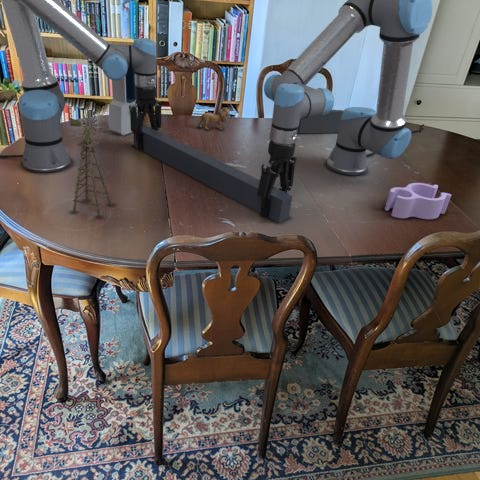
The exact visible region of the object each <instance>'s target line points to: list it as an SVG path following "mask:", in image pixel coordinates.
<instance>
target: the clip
mask: <svg viewBox="0 0 480 480" xmlns="http://www.w3.org/2000/svg"><path fill="white" fill-rule="evenodd" d="M438 188H439V185H438V184H433V185H432V184H429V183H424V182H411V183H408V184H407V186H405V187H400V186H399V187H398V186H397V187H396V186H395V187H392V188H390V190H389V192H388V196H387V199H386V203H385V207H384V211H386V212H388V211H390V209H392V211H391V213H390V216H391V217H393V218H397V219H408V218H418V219H420V220H421V219H422V220H434V219H435V220H436V219H438V218H439V216H440V214H441V215H445V213H446V210H447V208H448V206H449V203H450V200H451V198H452V194H451V193H448V192H440V194H439V197H436V194H437V192H438Z"/></svg>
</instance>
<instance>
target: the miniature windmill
mask: <svg viewBox="0 0 480 480" xmlns="http://www.w3.org/2000/svg"><path fill="white" fill-rule="evenodd" d="M89 110H91V112H90V113H87V112H89ZM95 113H96V111H95V110H94V108H92V109H91V107H89V108H87V110H86V109H85V110H84V113H82V117H83V118H81V119H80V120H81V121H80V120H78V119H74V118H71V117H69V125H70V127H73V128H75V127H76V128H80V127H82V128H80V129H79V130H80V132H81V134H80V135H81V137H82V140H81V141H80V142H78V143H77V144H76V146H78V147H81V151H80V153H79V154H80V159H79V166H78V168H77V171H78V174H77V176H76V178H77V180H76V183H75V186H76V187H75V191H74V199H73V200H72V201H73V207H72V213H76V210H77V203H80V204H86V205H91V206H95V207H96V214H97V217H98V218H100V217H101V212H100V205H101V204H102V203H103V202H104V201H105V200H106V199H107V203H108V205H109V206H112V200H111V197H110V194H111V193H109V190H108V188H107V185H106V182H105V177H104V176H103V173H102V170H101V167H100V166H101V164H100V163H99V161H98V157H97V155H96V153H97V151H96V150H95V148H94V147H96V146H97V145H99V144H100V142H98V140H97V141H95V140H94V137H95V136H96V132H97V131H98V130H97V128H95V127H97V126H98V123H96V122H98V119H97V118H96V117H97V114H95ZM93 140H94V141H93ZM84 152H85V153H84ZM92 156H93V158H94V160H95V163H94V162H92ZM84 159H85V160H84ZM83 161H85V163H84V164H83ZM88 165H89V166H88ZM93 166H96V167H94V168H93ZM88 167H89V168H90V169H89V168H88ZM96 170H97V171H98V173H99V176H95V175H94V172H95V171H96ZM89 173H90V175H89ZM82 175H85V176H83V178H82V179H81V176H82ZM89 178H91V182H92V184H91V185H90V184H89V180H88V179H89ZM95 179H98V180H100V181H99V182H98V183H96V180H95ZM83 181H85V182H84V183H81V182H83ZM100 184H102V186H103V189H104V191H100V190H99V191H98V190H97V187H98V186H99V185H100ZM84 187H85V189H84V190H83V191H82V192H81V193H79V191H80V190H81V189H82V188H84ZM89 188H93V189H89ZM89 192H92V193H94V201H95V203H92V202H88V200H89ZM78 194H79V195H78ZM83 194H85V195H84V196H85V197H84V198H85V201H82V200H78V199H79V198H80V197H81V196H82V195H83ZM98 194H101V195H105V196H104V197H103V198H102V199H101V200H100V201H99V200H98V199H99V198H98Z"/></svg>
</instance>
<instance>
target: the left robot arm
mask: <svg viewBox="0 0 480 480" xmlns="http://www.w3.org/2000/svg"><path fill="white" fill-rule="evenodd" d="M0 1H1V4H2V7H3V12H4V14H5V18H6V22H7V23H8V28H9V31H10V34H11V37H12V41H13V45H14V48H15V51H16V55H17V58H18V61H19V65H20V68H21V70H22V74H23V80H22V82H21V88H22V91H23V93H22V94H20V96H19V98H18V109H19V110H18V111H19V113H20V119H21V125H22V132H23V137H24V148H23V153H22V154H10V155H9V154H8V155H7V154H6V155H5V154H1V155H0V158H3V159H4V158H6V159H7V158H21V159H22V160H21V161H22V166H23V168H24V169H25V170H27V171H29V172H33V173H39V174H46V173H56V172H61V171H63V170H66V169H67V168H69V167H70V166H71V163H72V159H71V155H70V153H69V149H68V147H67V146H66V145H65V143H64V140H63V132H62V123H61V119H62V115H63V112H64V110H65V107H66V98H65V95H64V92H63V91H62V89H61V88H60V84H59V81H58V78H57V77H55V76H54V75H53V74H52V72H51V68H50V64H49V60H48V57H47V53H46V49H45V45H44V42H43V39H42V35H41V31H40V28H39V23H38V20H37V18H38V19H40V20H41V21H42V22H43V23H44V24H46V25H47V26H48V27H50V28H51V30H53V31H54V32H56V33H57V34H58V35H59V36H60V37H62V38H63V39H64V40H65V41H66V42H68V43H69V44H70V45H72V46H73V47H74V48H75V49H76V50H77V51H78V52H80V53H81V54H83V55H84V56H85V57H86V58H87V59H89V60H90V61H91V62H92V63H94V65H96V66H97V67H98V68H99V69H101V71H102V72H103V74H104V76H105V77H106V78H107V79H109V80H111V81H112V80H116V81H117V80H121V79H122V78H124V77H125V75H126V73H127V70H128V68H134V70H135V85H136V86H135V96H136V102H135V104H134V105H132V106H131V105H129V109H130V120H131V131H132V132H131V133H133V132H134V133H136V141H137V143H138V148H137V149H138V150H140V151H141V152H144V151H143V150H144V144H143V133H141V132H142V127H143V125H144V122H145V117H146V115H148V119H149V124H150V128H152V129H154V130H156V131H158V132H159V130H160V128H162V107H163V101H161V100H159V99H156V98H157V87H156V86H157V44H156V42H155V41H154V39H151V38H147V37H145V38H143V37H140V38H139V37H138V38H135V39H134V40H133V43H132V44H121V43H120V44H118V43H109V42H107V41H106V40H105V39H104V38H103V37H102V36H101V35H100V34H98V33H97V32H96V31H95V30H93V29H92V27H90V26H89V25H88V24H87V23H86V22H84V21H83V20H82V19H81V18H79V17H78V15H76V14H75V13H74V12H73V11H72V10H71V9H70V8H69V7H67V6H66V5H65V4H63V3H62V2H61V1H60V0H0ZM137 108H138V111H137ZM137 113H138V116H137ZM134 133H133V134H134Z"/></svg>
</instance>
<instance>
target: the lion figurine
mask: <svg viewBox="0 0 480 480" xmlns="http://www.w3.org/2000/svg"><path fill="white" fill-rule="evenodd" d="M230 113H231V112H230V109H229V108H228V107H223V108H221V110H220V111H218V112H216V113H209V112H204V113H202V114H201V115H200V118H199V121H198V125H196V129H198V128H202V127H204V128H205V130H206V131H209V129H210V128H209V127H207V125H208V123H209V122H210V123H214V124H216V128H217V129H219V130H220V131H223V128H222V126H223V123H226V122H227V120H228V119H229V118H230ZM203 123H204V124H203ZM202 124H203V125H202Z"/></svg>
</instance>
